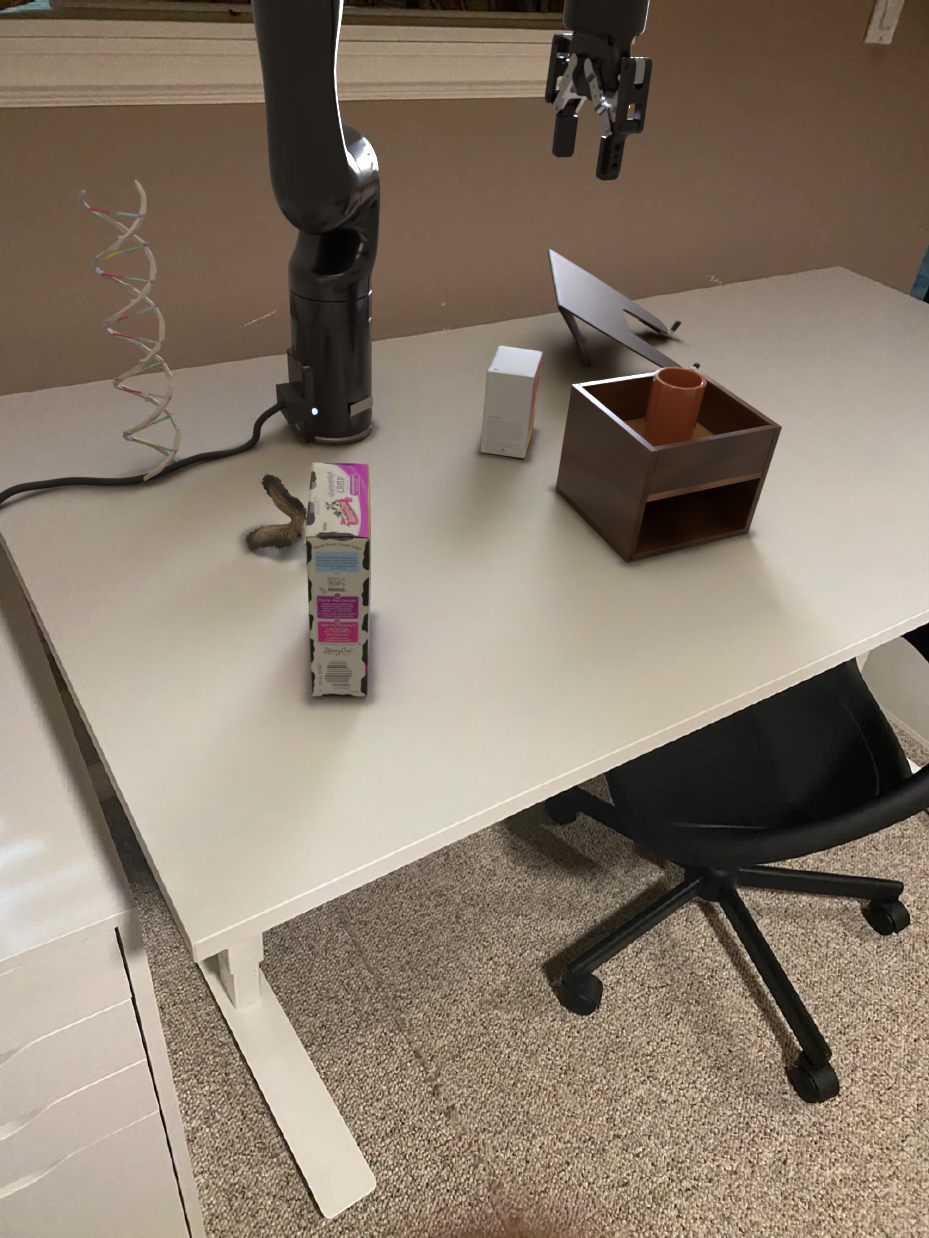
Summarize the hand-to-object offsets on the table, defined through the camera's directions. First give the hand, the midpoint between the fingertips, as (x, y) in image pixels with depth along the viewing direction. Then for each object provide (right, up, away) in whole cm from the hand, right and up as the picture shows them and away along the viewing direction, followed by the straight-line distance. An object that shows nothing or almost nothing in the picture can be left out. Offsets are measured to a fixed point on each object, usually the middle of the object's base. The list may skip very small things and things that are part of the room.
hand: (583, 167), depth 91 cm
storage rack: (+9, -33, +12) cm, 36 cm away
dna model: (-46, -29, +11) cm, 55 cm away
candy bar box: (-23, -48, -10) cm, 54 cm away
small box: (-7, -23, +22) cm, 33 cm away
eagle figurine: (-29, -37, +3) cm, 48 cm away
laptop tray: (+11, -5, +45) cm, 47 cm away
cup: (+9, -27, +7) cm, 29 cm away
